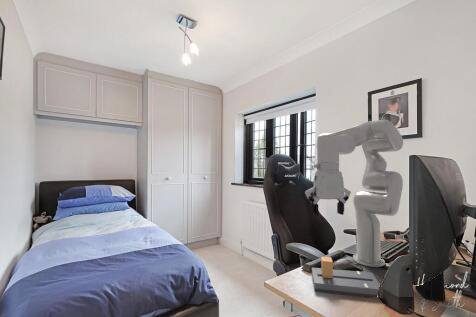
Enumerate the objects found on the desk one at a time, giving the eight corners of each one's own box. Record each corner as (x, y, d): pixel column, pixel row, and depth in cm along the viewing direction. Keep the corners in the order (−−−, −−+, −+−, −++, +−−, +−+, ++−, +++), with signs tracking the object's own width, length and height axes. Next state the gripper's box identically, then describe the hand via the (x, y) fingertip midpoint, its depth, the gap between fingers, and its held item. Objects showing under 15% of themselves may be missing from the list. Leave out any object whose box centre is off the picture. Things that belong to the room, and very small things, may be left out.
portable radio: (449, 303, 75) (447, 225, 75) (427, 301, 76) (426, 224, 76) (433, 290, 83) (432, 219, 83) (414, 288, 84) (413, 218, 84)
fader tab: (321, 277, 90) (321, 256, 90) (331, 278, 89) (330, 257, 89) (322, 282, 86) (322, 261, 86) (333, 283, 85) (332, 261, 85)
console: (311, 274, 95) (311, 267, 95) (371, 280, 90) (371, 272, 90) (314, 291, 83) (314, 282, 83) (383, 298, 78) (383, 289, 78)
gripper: (309, 167, 82) (309, 217, 81) (356, 168, 84) (356, 216, 83) (301, 167, 89) (301, 212, 89) (344, 167, 91) (344, 211, 91)
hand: (328, 214), depth 86 cm, fingers open, 9 cm apart
